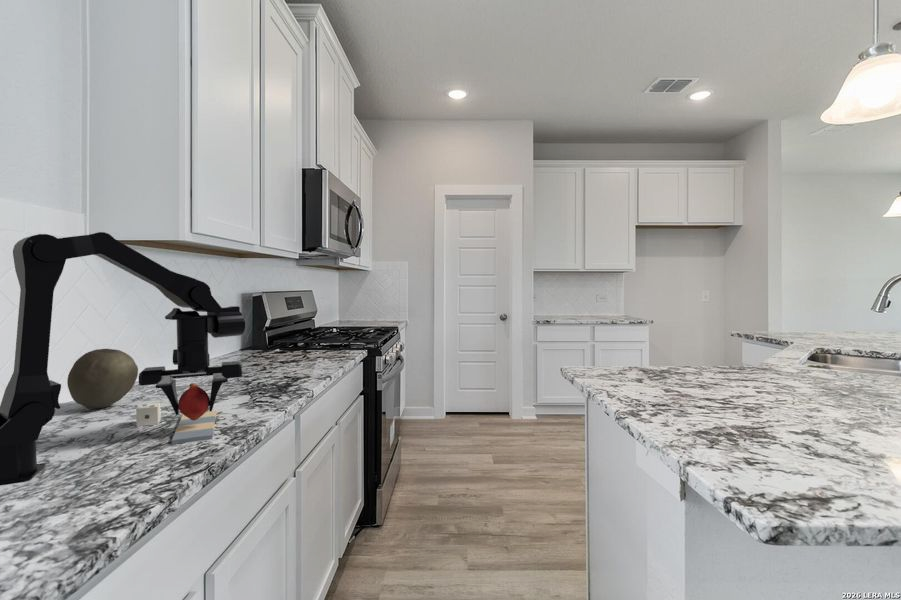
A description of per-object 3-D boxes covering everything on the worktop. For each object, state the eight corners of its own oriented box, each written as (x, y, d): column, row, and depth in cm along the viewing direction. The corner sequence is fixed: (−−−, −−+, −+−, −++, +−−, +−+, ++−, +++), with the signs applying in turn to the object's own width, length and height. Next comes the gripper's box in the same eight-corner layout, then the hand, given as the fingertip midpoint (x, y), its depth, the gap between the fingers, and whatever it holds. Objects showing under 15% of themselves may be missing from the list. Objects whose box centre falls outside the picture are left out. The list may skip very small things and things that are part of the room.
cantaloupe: (82, 417, 108) (80, 354, 107) (60, 409, 115) (57, 350, 115) (147, 404, 119) (146, 347, 119) (123, 397, 127) (121, 344, 127)
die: (157, 424, 102) (157, 406, 102) (136, 426, 100) (136, 408, 100) (160, 419, 106) (160, 402, 106) (140, 422, 104) (139, 404, 104)
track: (212, 438, 92) (212, 434, 92) (171, 444, 89) (171, 440, 89) (216, 413, 110) (216, 410, 110) (182, 417, 107) (182, 414, 107)
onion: (203, 414, 101) (202, 379, 101) (214, 419, 97) (213, 382, 97) (174, 421, 96) (173, 383, 96) (185, 426, 93) (184, 387, 92)
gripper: (240, 334, 107) (242, 399, 108) (147, 338, 99) (149, 409, 100) (241, 339, 97) (242, 411, 98) (137, 344, 89) (139, 422, 90)
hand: (194, 412), depth 97 cm, fingers closed on onion, 6 cm apart
